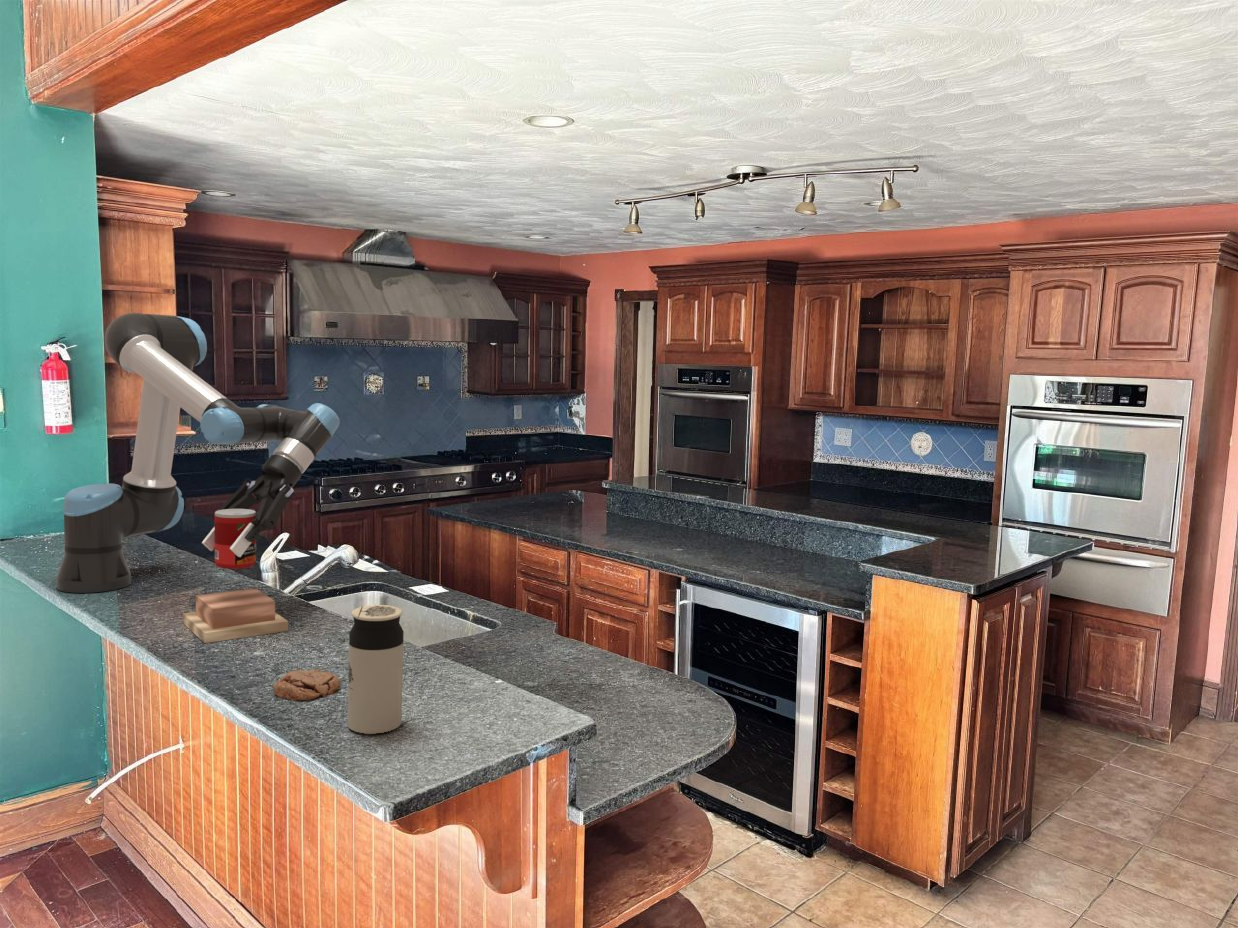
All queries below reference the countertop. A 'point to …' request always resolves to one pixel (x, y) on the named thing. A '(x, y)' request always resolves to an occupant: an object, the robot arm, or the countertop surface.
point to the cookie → (306, 685)
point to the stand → (234, 616)
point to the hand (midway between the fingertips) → (220, 549)
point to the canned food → (233, 538)
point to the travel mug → (375, 669)
